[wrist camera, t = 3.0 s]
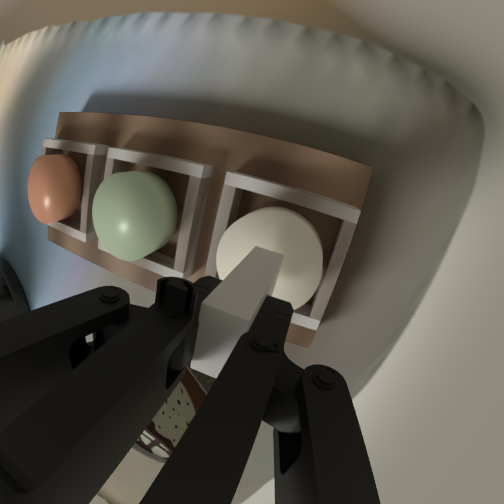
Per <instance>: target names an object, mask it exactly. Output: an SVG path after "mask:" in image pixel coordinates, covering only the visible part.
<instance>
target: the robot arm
mask: <svg viewBox="0 0 504 504" xmlns="http://www.w3.org/2000/svg"><path fill="white" fill-rule="evenodd" d="M283 259H284V255H283V254H280V253H277V252H273V251H270V250H267V249H264V248H261V247H258V246H255V247H254V248H253V249H252V250H251V251H250V253H249V254H248V255H247V256H246V257H245V258H244V259H243V260H242V261H241V262H240V263H239V264H238V265H237V266H236V267H235V268H234V269H233V270H232V271H231V272H230V273H229V275H228V276H227V277H226V278H225V279H224V280H220V279H218V278H215V277H212V276H209V275H208V276H205V277H201V278H199V279H198V280H197V281H195V282H194V283H192V282H190V281H188V280H187V279H183V278H180V277H163V278H160V279H158V280H157V289H156V299H155V303H154V304H153V305H152V306H150V307H149V308H146V307H141V306H137V305H132V304H130V298H129V294H128V293H127V292H126V291H125V290H123V289H121V288H119V287H115V286H103V287H98V288H95V289H92V290H89V291H86V292H84V293H81V294H78V295H75V296H72V297H69V298H66V299H63V300H60V301H58V302H55V303H52V304H49V305H46V306H43V307H40V308H38V309H35V310H32V311H29V307H28V304H27V300H26V297H25V295H24V292H23V289H22V287H21V285H20V283H19V280H18V278H17V276H16V275H15V273H14V271H13V270H12V268H11V267H10V265H9V264H8V263H7V262H6V261H5V260H4V259H2V258H0V504H89V503H90V501H91V500H92V499H93V498H94V496H95V495H96V494H97V492H98V491H99V490H100V489H101V487H102V486H103V485H104V483H105V482H106V481H107V479H108V478H109V477H110V475H111V474H112V473H113V472H114V470H115V469H116V468H117V466H118V465H119V464H120V462H121V461H122V460H123V458H124V457H125V456H126V454H127V453H128V452H129V450H130V449H131V448H132V446H133V445H134V444H135V442H136V441H137V440H138V438H139V437H140V436H141V434H142V433H143V431H144V430H145V429H146V427H147V426H148V425H149V423H150V422H151V421H152V419H153V418H154V417H155V415H156V414H157V412H158V411H159V410H160V408H161V407H162V406H163V404H164V403H165V402H166V400H167V399H168V397H169V396H170V395H171V393H172V392H173V391H174V389H175V388H176V386H177V385H178V384H179V382H180V381H181V379H182V378H183V376H184V374H185V369H186V365H187V363H188V362H189V361H190V359H191V358H192V360H191V366H190V368H192V369H194V370H197V371H199V372H201V373H204V374H206V375H209V376H211V377H214V378H216V380H215V382H214V383H213V385H212V387H211V388H210V390H209V392H208V394H207V395H206V397H205V399H204V400H203V402H202V404H201V405H200V407H199V409H198V410H197V412H196V414H195V415H194V417H193V419H192V420H191V422H190V424H189V425H188V427H187V429H186V430H185V432H184V434H183V435H182V437H181V439H180V440H179V442H178V443H177V445H176V447H175V448H174V450H173V452H172V453H171V455H170V456H169V458H168V460H167V461H166V463H165V464H164V466H163V467H162V469H161V471H160V472H159V474H158V475H157V477H156V478H155V480H154V482H153V483H152V485H151V486H150V488H149V489H148V491H147V492H146V494H145V495H144V497H143V499H142V500H141V502H140V503H139V504H231V502H232V499H233V497H234V494H235V492H236V489H237V487H238V484H239V482H240V479H241V477H242V474H243V471H244V469H245V466H246V463H247V461H248V458H249V455H250V452H251V450H252V447H253V444H254V441H255V438H256V436H257V433H258V430H259V427H260V424H261V421H262V420H263V421H265V422H266V423H268V424H269V425H271V426H272V427H274V430H273V439H274V477H275V504H380V500H379V496H378V492H377V488H376V484H375V480H374V476H373V472H372V468H371V465H370V461H369V457H368V454H367V450H366V447H365V443H364V439H363V436H362V433H361V429H360V426H359V422H358V419H357V416H356V412H355V409H354V406H353V402H352V399H351V396H350V393H349V390H348V386H347V383H346V381H345V379H344V378H343V376H342V375H341V374H340V373H339V372H338V371H336V370H334V369H332V368H331V367H328V366H324V365H311V366H308V367H306V368H305V369H302V368H301V367H299V366H297V365H296V364H294V363H293V362H292V361H291V360H289V359H288V357H287V356H286V354H285V352H284V343H285V340H286V336H287V333H288V329H289V326H290V322H291V319H292V315H293V311H294V309H293V307H292V305H291V303H290V302H287V301H284V300H281V299H278V298H275V297H272V294H273V291H274V288H275V285H276V281H277V278H278V275H279V272H280V269H281V265H282V262H283ZM91 333H93V341H92V342H88V343H87V342H86V338H85V336H87V335H89V334H91Z"/></svg>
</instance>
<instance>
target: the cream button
mask: <svg viewBox="0 0 504 504" xmlns="http://www.w3.org/2000/svg"><path fill="white" fill-rule="evenodd" d="M255 246H258V247H261V248H264V249H267V250H270V251H273V252H277V253H280V254H283V255H284V259H283V262H282V265H281V269H280V272H279V275H278V278H277V281H276V285H275V288H274V291H273V294H272V297H275V298H278V299H281V300H284V301H287V302H290V303H291V305H292V307H293V309H294V310H295V309H297V308H299V307H301V306H302V305H304V304H305V303H306V302H307V301H308V300H309V299H310V298H311V297H312V296H313V294H314V293H315V291H316V289H317V287H318V285H319V283H320V279H321V275H322V265H323V248H322V243H321V239H320V237H319V235H318V232H317V231H316V229H315V228H314V226H313V225H312V224H311V223H310V222H309V221H308V220H307V219H306V218H305V217H304V216H302V215H301V214H299V213H298V212H296V211H294V210H291V209H288V208H284V207H278V206H270V207H263V208H260V209H257V210H255V211H253V212H251V213H249V214H247V215H245V216H244V217H242V218H240V219H239V220H237V221H236V222H234V223H233V224H232V225H231V226H230V227H229V228H228V229H227V230H226V231H225V233H224V234H223V236H222V238H221V240H220V242H219V245H218V248H217V254H216V266H217V271H218V275H219V278H220V280H224V279H225V278H226V277H227V276H228V275H229V273H230V272H231V271H232V270H233V269H234V268H235V267H236V266H237V265H238V264H239V263H240V262H241V261H242V260H243V259H244V258H245V257H246V256H247V255H248V254H249V253H250V251H251V250H252V249H253V248H254V247H255Z"/></svg>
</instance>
